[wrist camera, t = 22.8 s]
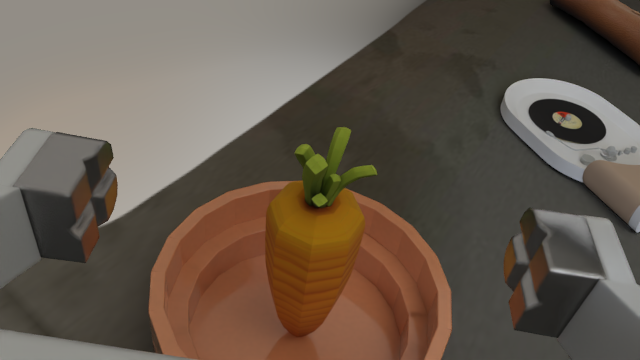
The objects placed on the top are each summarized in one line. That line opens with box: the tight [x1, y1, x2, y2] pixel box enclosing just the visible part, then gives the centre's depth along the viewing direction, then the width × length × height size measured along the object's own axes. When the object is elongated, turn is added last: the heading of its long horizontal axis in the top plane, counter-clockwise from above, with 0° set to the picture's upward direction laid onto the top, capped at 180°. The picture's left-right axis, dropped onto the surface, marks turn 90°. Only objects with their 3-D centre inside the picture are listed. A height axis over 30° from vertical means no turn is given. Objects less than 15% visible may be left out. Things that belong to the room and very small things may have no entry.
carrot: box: [265, 127, 377, 337], centre depth 30 cm, size 5×5×15 cm
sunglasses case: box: [550, 0, 640, 65], centre depth 72 cm, size 18×7×7 cm
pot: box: [148, 181, 452, 360], centre depth 34 cm, size 17×17×6 cm
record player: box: [500, 78, 640, 233], centre depth 54 cm, size 12×3×20 cm
